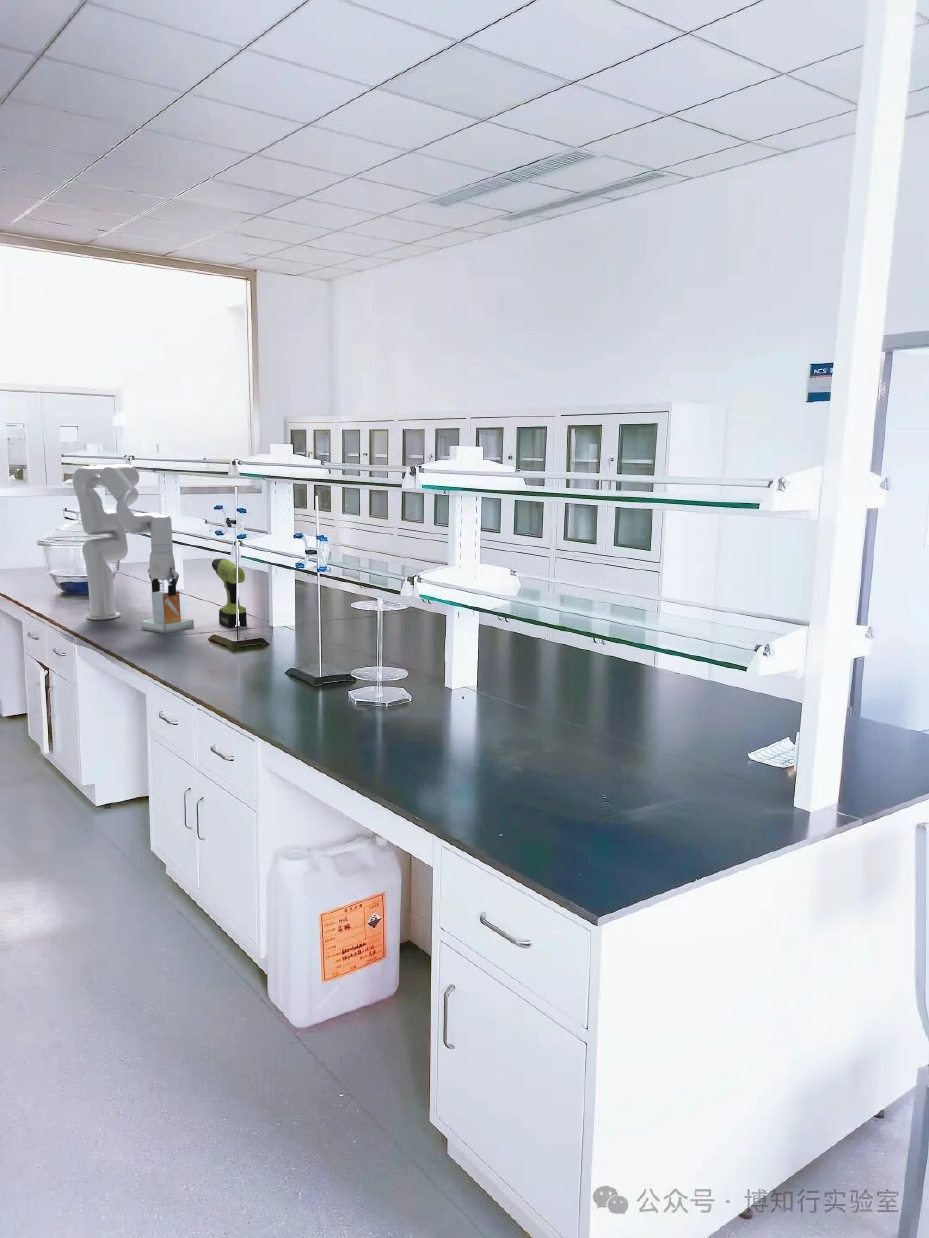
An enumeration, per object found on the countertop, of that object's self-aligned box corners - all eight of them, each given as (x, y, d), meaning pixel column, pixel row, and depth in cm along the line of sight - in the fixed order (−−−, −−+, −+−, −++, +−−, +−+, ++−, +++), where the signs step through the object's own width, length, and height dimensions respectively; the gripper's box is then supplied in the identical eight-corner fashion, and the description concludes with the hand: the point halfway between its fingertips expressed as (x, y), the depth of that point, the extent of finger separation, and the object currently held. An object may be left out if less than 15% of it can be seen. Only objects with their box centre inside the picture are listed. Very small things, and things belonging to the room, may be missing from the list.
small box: (164, 628, 340) (162, 593, 337) (153, 626, 343) (150, 592, 340) (181, 624, 346) (179, 590, 344) (170, 622, 350) (167, 589, 347)
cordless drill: (208, 620, 360) (204, 557, 355) (225, 617, 364) (221, 555, 359) (232, 629, 342) (228, 563, 337) (249, 626, 346) (246, 561, 341)
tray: (141, 628, 344) (141, 621, 343) (170, 623, 354) (170, 615, 354) (164, 633, 336) (164, 625, 335) (193, 627, 346) (193, 619, 345)
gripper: (139, 547, 341) (141, 592, 345) (168, 551, 331) (170, 598, 335) (156, 545, 347) (158, 589, 351) (185, 549, 337) (187, 595, 341)
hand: (164, 593), depth 343 cm, fingers open, 9 cm apart
